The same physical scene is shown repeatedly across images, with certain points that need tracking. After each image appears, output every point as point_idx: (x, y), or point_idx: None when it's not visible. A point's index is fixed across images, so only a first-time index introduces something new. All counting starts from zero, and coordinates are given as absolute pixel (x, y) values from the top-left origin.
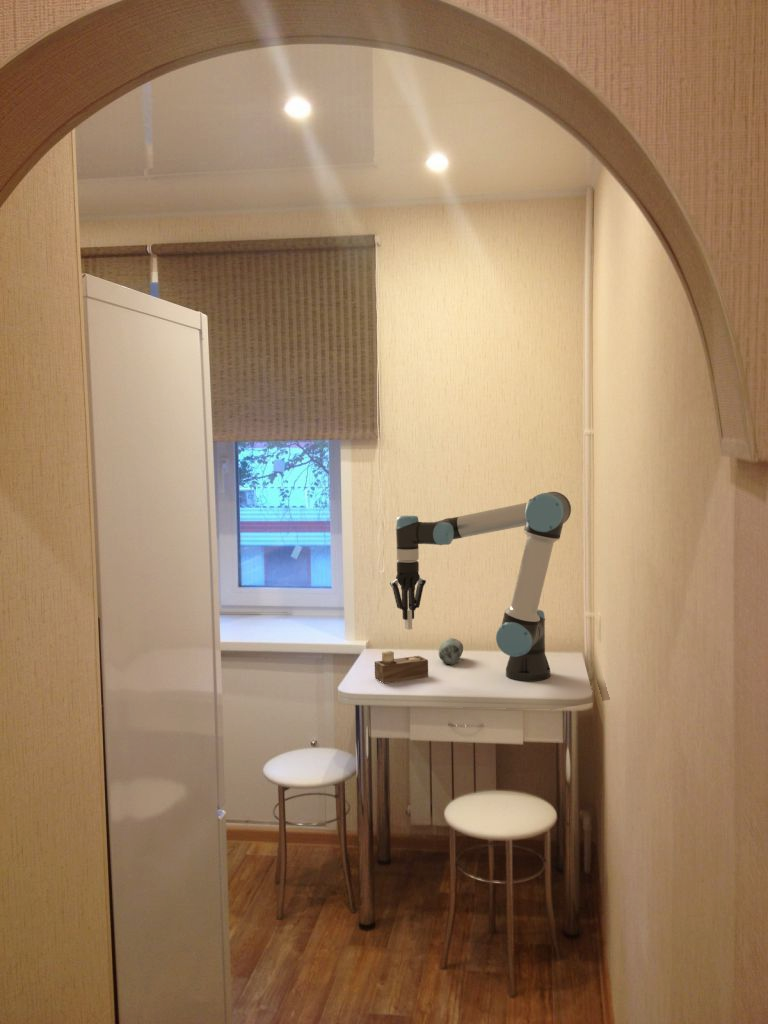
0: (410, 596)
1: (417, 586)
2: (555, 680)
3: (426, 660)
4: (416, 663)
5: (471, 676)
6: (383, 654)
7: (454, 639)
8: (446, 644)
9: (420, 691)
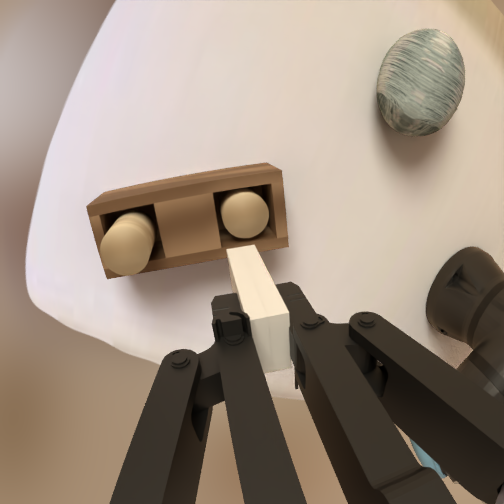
0: (333, 451)
1: (500, 456)
2: None
3: (282, 246)
4: None
5: (377, 260)
6: (105, 261)
7: (457, 80)
8: (419, 109)
9: (202, 350)
